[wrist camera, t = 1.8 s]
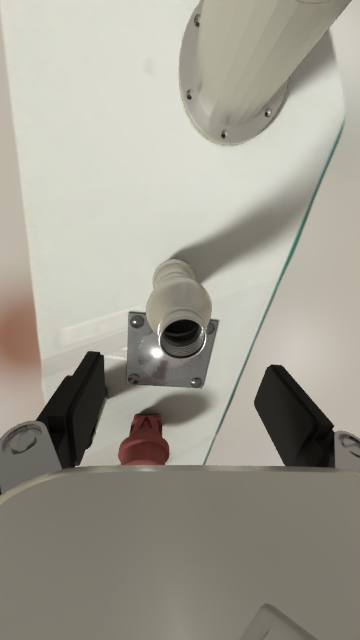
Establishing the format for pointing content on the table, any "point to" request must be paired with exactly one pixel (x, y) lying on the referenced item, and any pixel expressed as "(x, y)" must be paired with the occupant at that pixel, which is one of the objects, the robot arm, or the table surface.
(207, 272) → the table surface
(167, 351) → the plastic bottle
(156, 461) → the mechanical component
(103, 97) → the table surface
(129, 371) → the duct flange
